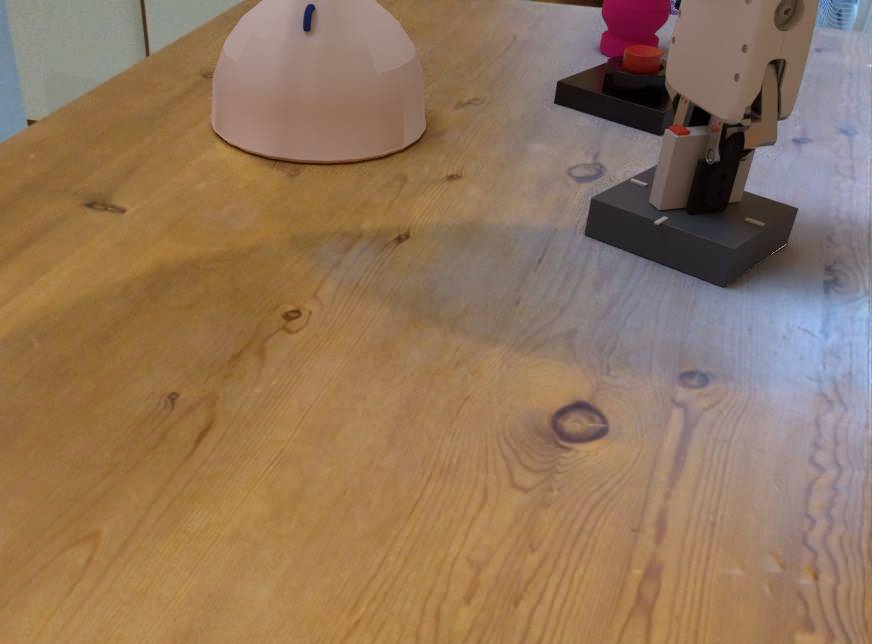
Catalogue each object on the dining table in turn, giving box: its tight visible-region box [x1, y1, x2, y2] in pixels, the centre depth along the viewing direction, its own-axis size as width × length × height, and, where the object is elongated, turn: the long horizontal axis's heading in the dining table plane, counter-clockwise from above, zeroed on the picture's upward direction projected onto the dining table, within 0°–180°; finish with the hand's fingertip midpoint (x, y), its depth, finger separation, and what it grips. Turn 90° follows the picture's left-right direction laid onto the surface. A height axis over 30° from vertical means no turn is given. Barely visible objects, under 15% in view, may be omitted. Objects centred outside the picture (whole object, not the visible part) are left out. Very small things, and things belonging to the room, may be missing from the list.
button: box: [622, 45, 664, 73], centre depth 102 cm, size 4×4×2 cm
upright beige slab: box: [649, 125, 757, 210], centre depth 78 cm, size 7×2×6 cm, turn 106°
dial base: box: [584, 164, 799, 288], centre depth 81 cm, size 12×11×3 cm
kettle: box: [209, 0, 427, 164], centre depth 94 cm, size 20×21×18 cm
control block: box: [553, 55, 675, 137], centre depth 103 cm, size 12×10×4 cm
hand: (693, 200), depth 80 cm, fingers closed
